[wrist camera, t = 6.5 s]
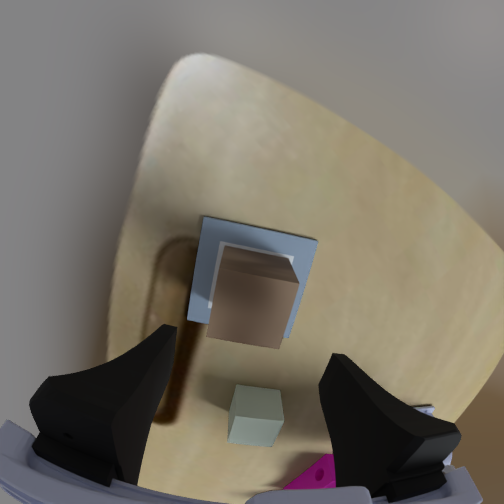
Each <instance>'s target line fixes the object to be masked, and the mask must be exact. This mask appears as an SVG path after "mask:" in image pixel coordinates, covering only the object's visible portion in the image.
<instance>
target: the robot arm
mask: <svg viewBox="0 0 504 504" xmlns="http://www.w3.org/2000/svg"><path fill="white" fill-rule="evenodd" d="M176 334H177V327H174V326H170V325H166V324H163V325H162V326H160V327H159V328H158V329H157V330H156V331H155V332H153V333H152V334H151V335H150V336H149V337H147V338H146V339H145V340H143V341H142V342H141V343H139V344H138V345H137V346H135V347H134V348H132V349H131V350H129V351H127V352H126V353H124V354H123V355H121V356H119V357H117V358H115V359H113V360H111V361H109V362H107V363H104V364H102V365H99V366H96V367H94V368H91V369H88V370H84V371H80V372H76V373H71V374H66V375H59V376H51V377H50V376H49V377H48V378H47V379H46V380H45V381H44V382H43V383H42V385H41V386H40V387H39V388H38V390H37V391H36V392H35V394H34V395H33V397H32V398H31V399H30V403H29V406H30V410H31V413H32V416H33V418H34V420H35V422H36V425H37V427H38V429H39V431H40V433H39V435H38V436H37V438H35V437H34V436H33V435H32V434H31V433H30V432H28V431H27V430H25V429H23V428H21V427H20V426H18V425H16V424H15V423H13V422H12V421H10V420H6V421H5V423H4V424H3V426H2V427H1V428H0V487H1V488H2V489H3V490H4V491H5V492H6V493H7V494H9V495H10V496H12V497H14V498H15V499H16V500H18V501H19V502H21V503H23V504H227V503H219V502H211V501H204V500H197V499H191V498H186V497H181V496H176V495H171V494H166V493H162V492H158V491H154V490H150V489H146V488H142V487H139V486H137V483H138V478H139V473H140V468H141V464H142V459H143V455H144V450H145V446H146V442H147V438H148V434H149V431H150V427H151V423H152V420H153V417H154V415H155V412H156V410H157V407H158V405H159V403H160V400H161V398H162V395H163V393H164V390H165V388H166V386H167V383H168V381H169V377H170V374H171V370H172V366H173V362H174V352H175V343H176ZM319 395H320V402H321V406H322V410H323V413H324V417H325V421H326V424H327V428H328V431H329V435H330V438H331V443H332V449H333V456H334V465H335V478H336V488H324V489H296V490H274V491H267V492H264V493H260V494H256V495H255V496H253V497H252V498H250V499H249V500H247V501H246V503H245V504H480V503H481V502H482V501H483V499H482V497H481V495H480V493H479V491H478V489H477V488H476V486H475V484H474V482H473V480H472V479H471V477H470V475H469V473H468V471H467V469H466V468H465V467H464V466H463V467H460V468H457V469H455V467H454V466H453V465H450V463H451V459H452V451H453V450H454V449H455V448H456V446H457V445H458V444H459V442H460V440H461V434H460V432H459V430H458V428H457V427H456V425H455V424H454V423H451V422H448V421H444V420H441V419H438V418H435V417H434V416H433V415H432V412H433V411H434V409H435V408H434V406H426V407H415V408H412V407H411V406H409V405H407V404H405V403H403V402H402V401H400V400H399V399H397V398H396V397H394V396H393V395H391V394H390V393H389V392H387V391H386V390H385V389H383V388H382V387H381V386H380V385H378V384H377V383H376V382H375V381H374V380H373V379H371V378H370V377H369V376H368V375H367V374H366V373H365V372H364V371H363V370H362V369H360V368H359V367H358V366H357V365H356V364H355V363H354V362H353V361H352V360H351V359H349V358H348V357H347V356H346V355H344V354H336V353H333V354H332V356H331V358H330V361H329V363H328V365H327V367H326V370H325V372H324V374H323V376H322V378H321V380H320V383H319Z"/></svg>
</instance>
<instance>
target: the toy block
mask: <svg viewBox="0 0 504 504" xmlns="http://www.w3.org/2000/svg"><path fill="white" fill-rule="evenodd" d="M324 488H336V478H335V465H334V456H333V454H325V455H324V456H323V457H322V458H321V459H319V460H318V461H317V462H316V463H315V464H314V465H312V466H311V467H310V468H309V469H307V470H306V471H305V472H304V473H302V474H301V475H300V476H299V477H297V478H296V479H295V480H293V481H292V482H291V483H290V484H288V485H287V486H285V487H284V488H283V489H284V490H296V489H324Z"/></svg>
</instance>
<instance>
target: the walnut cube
mask: <svg viewBox="0 0 504 504" xmlns="http://www.w3.org/2000/svg"><path fill="white" fill-rule="evenodd" d="M299 284H300V283H299V281H298V279H297V276H296V274H295V272H294V270H293V267H292V265H291V263H290V260H289V258H284V257H279V256H275V255H270V254H265V253H260V252H255V251H250V250H245V249H241V248H236V247H231V246H226V245H225V246H224V250H223V254H222V258H221V262H220V266H219V271H218V276H217V281H216V286H215V292H214V297H213V302H212V308H211V313H210V319H209V324H208V330H207V336H206V337H211V338H216V339H221V340H226V341H232V342H237V343H243V344H249V345H255V346H261V347H268V348H274V349H279V348H280V345H281V342H282V339H283V336H284V333H285V330H286V326H287V323H288V320H289V317H290V314H291V311H292V307H293V304H294V301H295V298H296V294H297V291H298V288H299Z"/></svg>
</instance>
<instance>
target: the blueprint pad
mask: <svg viewBox="0 0 504 504" xmlns="http://www.w3.org/2000/svg"><path fill="white" fill-rule="evenodd" d="M317 244H318V241H317V240H313V239H309V238H304V237H300V236H295V235H291V234H286V233H282V232H277V231H273V230H268V229H263V228H259V227H254V226H249V225H244V224H240V223H235V222H230V221H225V220H220V219H215V218H210V217H205V216H204V218H203V224H202V229H201V235H200V241H199V246H198V252H197V258H196V264H195V270H194V276H193V283H192V289H191V296H190V303H189V310H188V317H187V320H191V321H196V322H201V323H205V324H209V319H210V313H211V308H212V302H213V297H214V292H215V286H216V281H217V276H218V271H219V266H220V262H221V258H222V254H223V250H224V246H225V245H226V246H231V247H236V248H241V249H245V250H250V251H255V252H260V253H265V254H270V255H275V256H279V257H284V258H289V260H290V263H291V265H292V267H293V270H294V272H295V274H296V276H297V279H298V281H299V283H300V284H299V288H298V291H297V294H296V298H295V301H294V304H293V307H292V311H291V314H290V317H289V320H288V323H287V326H286V330H285V333H284V336H283V337H284V338H289V335H290V332H291V329H292V326H293V323H294V320H295V317H296V314H297V311H298V308H299V304H300V301H301V298H302V295H303V292H304V288H305V285H306V282H307V279H308V275H309V272H310V268H311V265H312V262H313V258H314V255H315V251H316V248H317Z"/></svg>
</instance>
